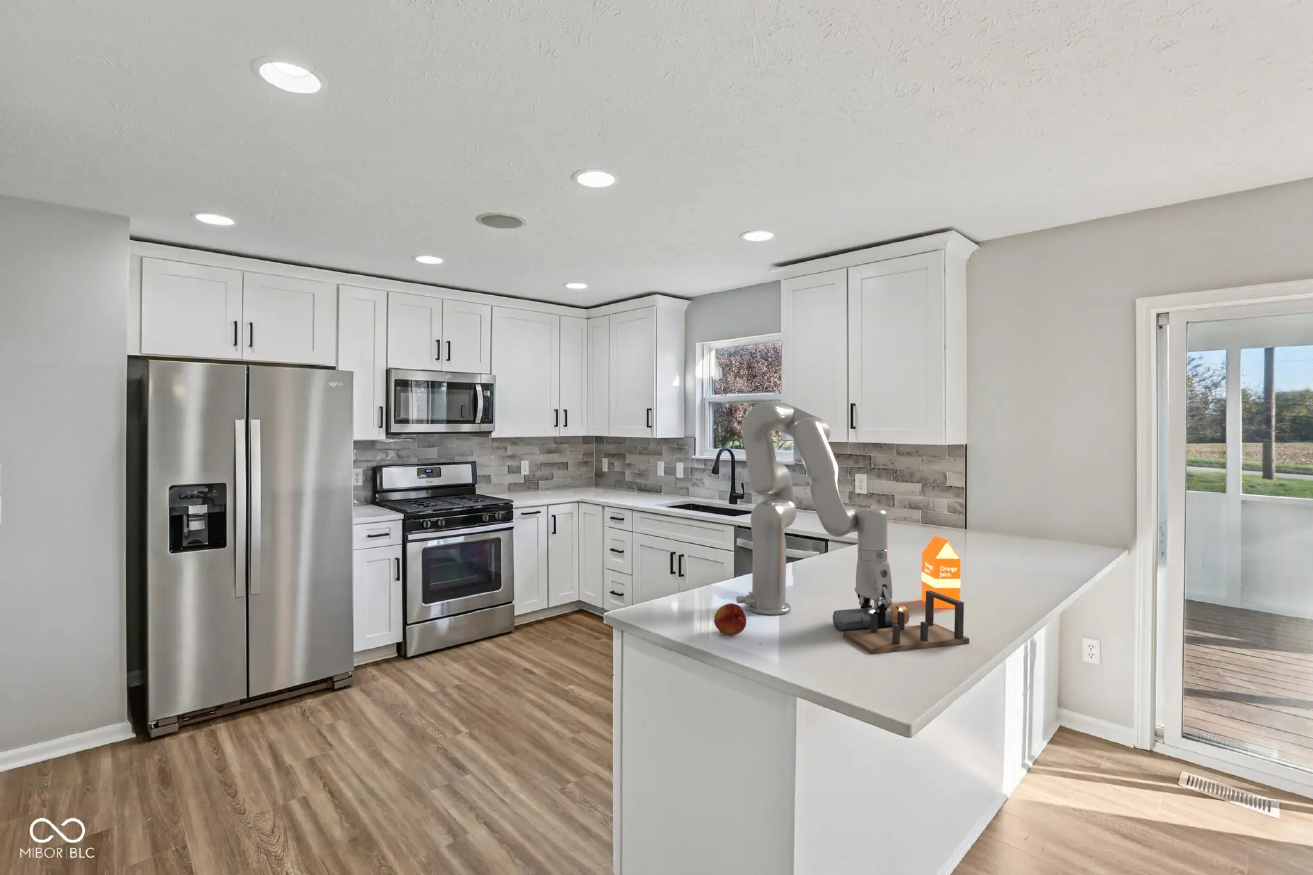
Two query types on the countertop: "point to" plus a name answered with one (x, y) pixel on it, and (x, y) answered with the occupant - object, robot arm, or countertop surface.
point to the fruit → (730, 619)
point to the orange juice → (940, 571)
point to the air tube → (865, 617)
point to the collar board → (912, 631)
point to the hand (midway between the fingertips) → (872, 622)
